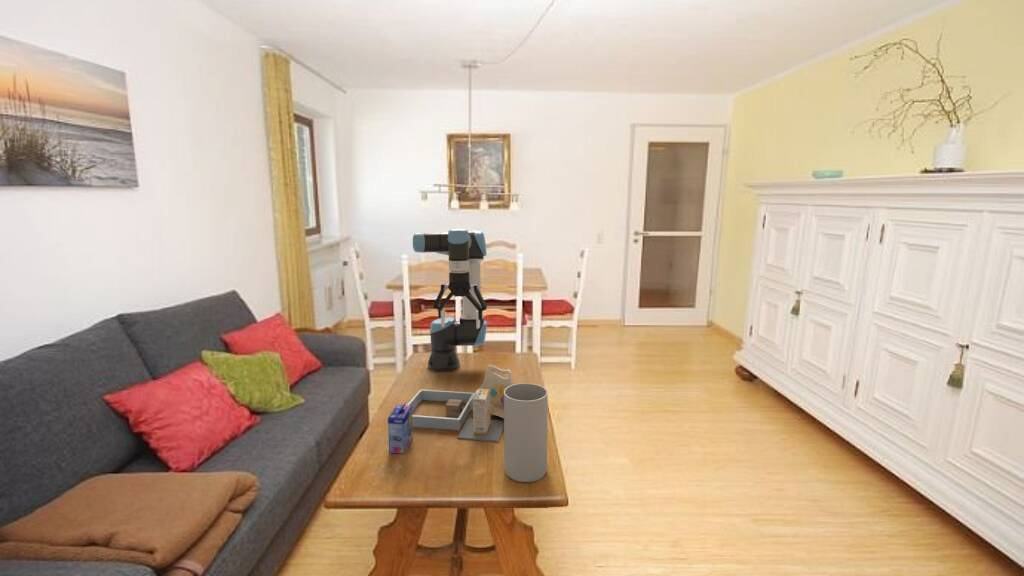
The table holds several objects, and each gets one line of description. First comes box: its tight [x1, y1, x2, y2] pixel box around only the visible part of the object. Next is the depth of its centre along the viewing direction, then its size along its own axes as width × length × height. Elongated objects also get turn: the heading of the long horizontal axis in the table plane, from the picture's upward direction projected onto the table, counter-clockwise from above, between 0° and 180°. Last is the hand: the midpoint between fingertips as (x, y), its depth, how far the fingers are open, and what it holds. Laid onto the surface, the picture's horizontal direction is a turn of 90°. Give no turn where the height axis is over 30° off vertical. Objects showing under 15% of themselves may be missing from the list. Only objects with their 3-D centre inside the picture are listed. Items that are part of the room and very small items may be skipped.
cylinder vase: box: [503, 382, 549, 483], centre depth 135 cm, size 12×12×25 cm
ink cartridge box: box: [387, 402, 413, 454], centre depth 150 cm, size 10×6×14 cm, turn 177°
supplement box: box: [472, 388, 492, 434], centre depth 160 cm, size 8×5×13 cm, turn 173°
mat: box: [457, 417, 504, 443], centre depth 161 cm, size 14×14×1 cm
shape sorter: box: [479, 364, 514, 419], centre depth 172 cm, size 20×10×18 cm, turn 47°
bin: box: [406, 389, 476, 431], centre depth 174 cm, size 23×23×4 cm
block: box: [445, 399, 464, 418], centre depth 173 cm, size 5×5×5 cm
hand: (460, 327), depth 175 cm, fingers open, 13 cm apart
